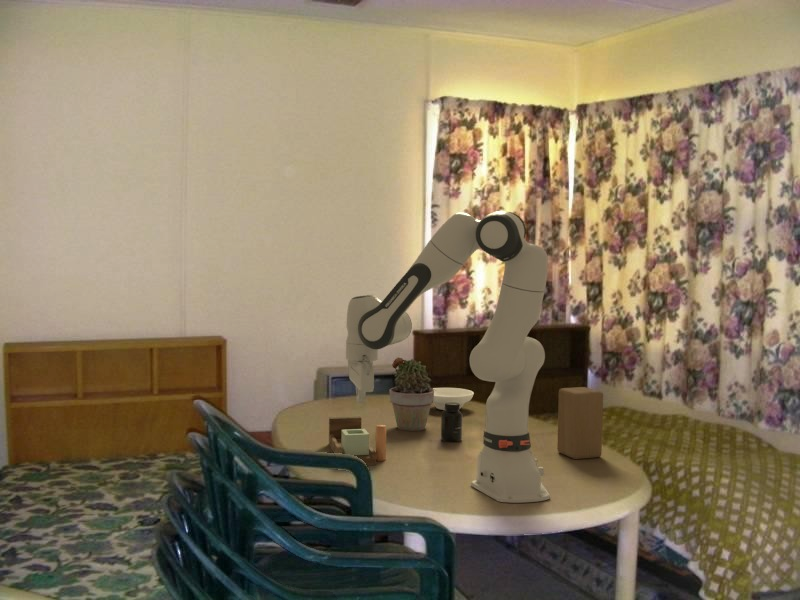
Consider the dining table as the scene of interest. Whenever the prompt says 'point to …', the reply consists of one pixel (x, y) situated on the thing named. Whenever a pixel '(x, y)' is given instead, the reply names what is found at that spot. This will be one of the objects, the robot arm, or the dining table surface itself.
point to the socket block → (355, 442)
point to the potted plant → (411, 395)
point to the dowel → (381, 442)
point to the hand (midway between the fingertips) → (360, 402)
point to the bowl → (451, 396)
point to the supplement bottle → (451, 423)
